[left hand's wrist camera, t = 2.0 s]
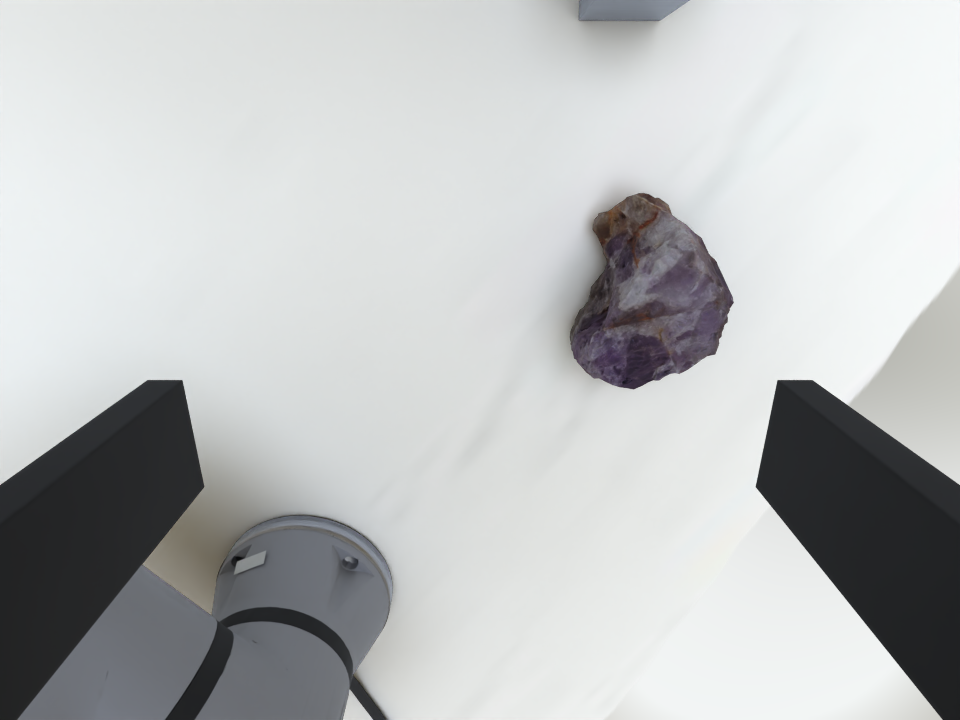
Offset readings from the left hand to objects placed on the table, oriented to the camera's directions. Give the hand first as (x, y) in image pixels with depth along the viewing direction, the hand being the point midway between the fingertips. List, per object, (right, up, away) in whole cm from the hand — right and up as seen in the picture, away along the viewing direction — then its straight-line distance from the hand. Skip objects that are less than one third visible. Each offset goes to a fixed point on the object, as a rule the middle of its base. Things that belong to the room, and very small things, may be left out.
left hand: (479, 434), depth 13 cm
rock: (+12, +7, +29) cm, 32 cm away
